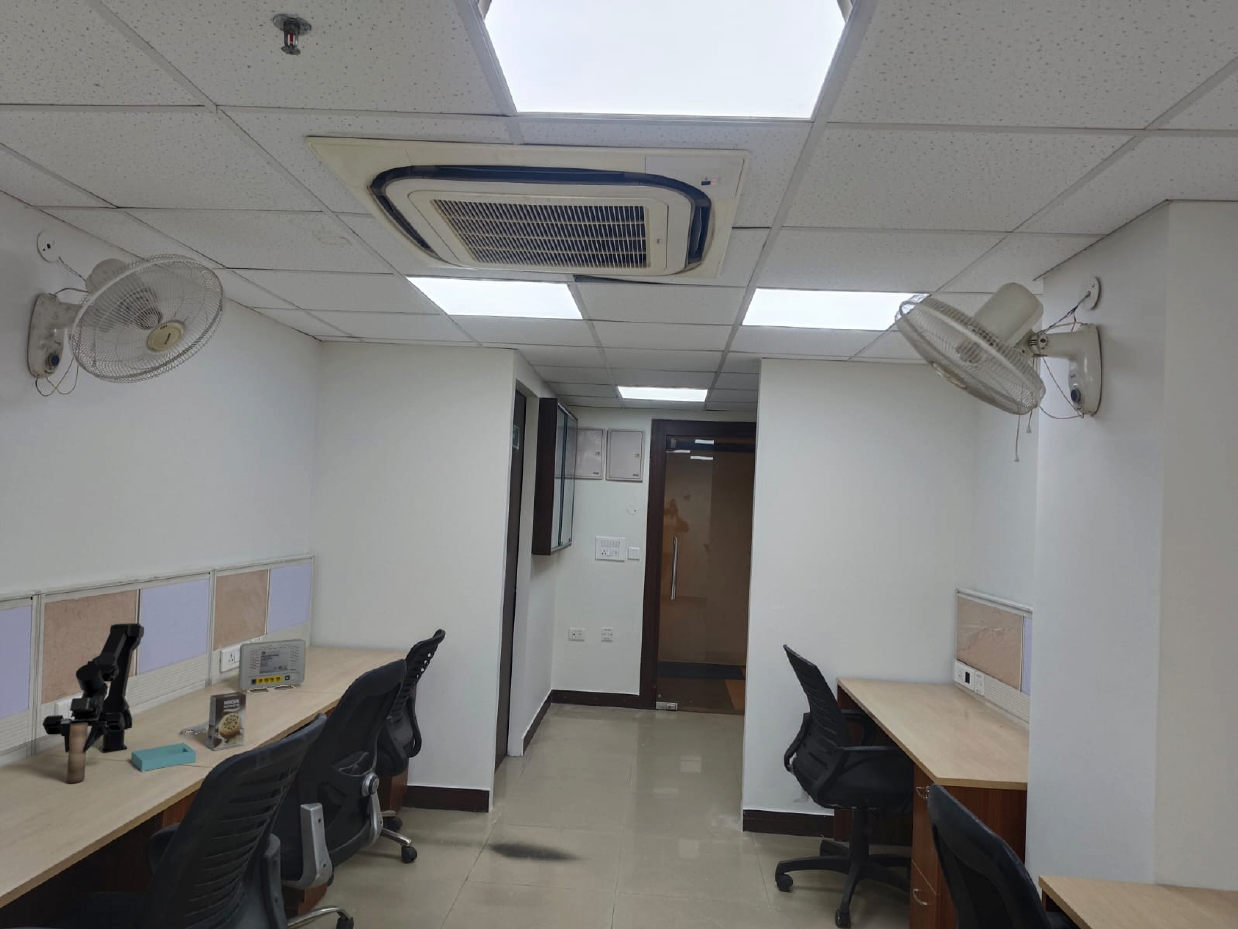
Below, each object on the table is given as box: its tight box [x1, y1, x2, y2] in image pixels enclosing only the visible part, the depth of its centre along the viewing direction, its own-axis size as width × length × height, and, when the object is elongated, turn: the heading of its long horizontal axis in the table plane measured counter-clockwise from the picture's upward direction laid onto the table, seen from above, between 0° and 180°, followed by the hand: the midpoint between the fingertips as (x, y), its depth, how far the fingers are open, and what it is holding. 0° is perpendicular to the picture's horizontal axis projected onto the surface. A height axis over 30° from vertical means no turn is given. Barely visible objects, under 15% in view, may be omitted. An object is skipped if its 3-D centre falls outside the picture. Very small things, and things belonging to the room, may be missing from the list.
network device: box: [237, 638, 307, 691], centre depth 332 cm, size 26×9×20 cm, turn 130°
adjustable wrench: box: [180, 720, 209, 736], centre depth 275 cm, size 25×6×2 cm, turn 172°
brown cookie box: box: [206, 691, 247, 751], centre depth 252 cm, size 9×6×16 cm
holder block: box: [130, 742, 197, 772], centre depth 235 cm, size 12×14×3 cm
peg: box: [66, 722, 88, 784], centre depth 217 cm, size 4×4×15 cm
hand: (75, 751), depth 215 cm, fingers closed on peg, 4 cm apart
